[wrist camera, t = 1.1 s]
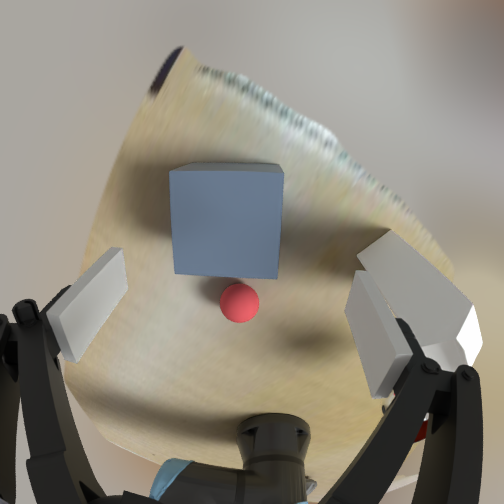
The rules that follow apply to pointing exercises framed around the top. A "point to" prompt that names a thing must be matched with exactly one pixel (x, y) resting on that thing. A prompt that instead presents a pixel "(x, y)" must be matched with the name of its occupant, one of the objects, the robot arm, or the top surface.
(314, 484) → the grey rock
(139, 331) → the top surface
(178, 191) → the blue gray block
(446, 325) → the milk
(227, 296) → the ball
